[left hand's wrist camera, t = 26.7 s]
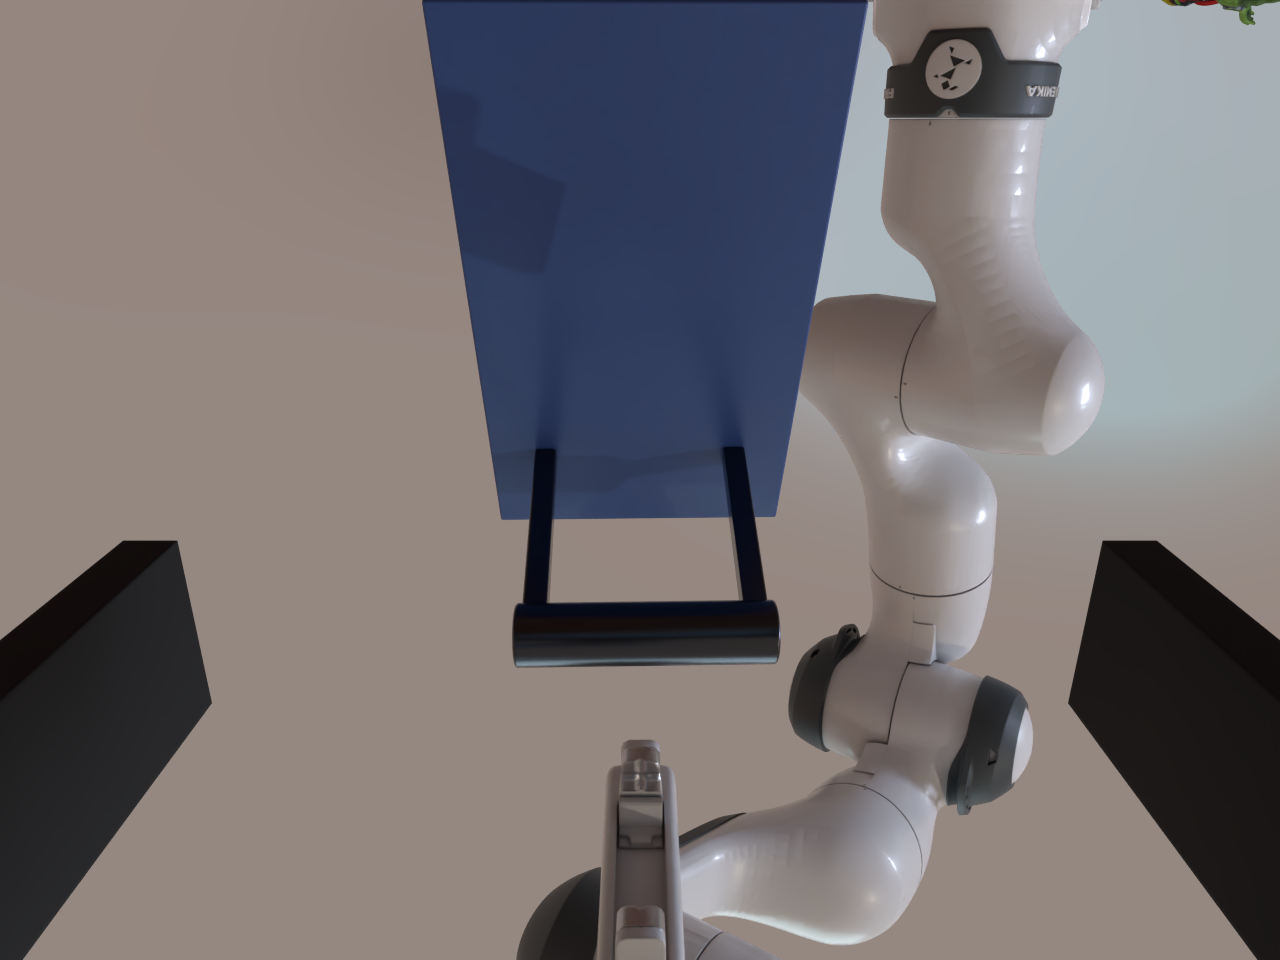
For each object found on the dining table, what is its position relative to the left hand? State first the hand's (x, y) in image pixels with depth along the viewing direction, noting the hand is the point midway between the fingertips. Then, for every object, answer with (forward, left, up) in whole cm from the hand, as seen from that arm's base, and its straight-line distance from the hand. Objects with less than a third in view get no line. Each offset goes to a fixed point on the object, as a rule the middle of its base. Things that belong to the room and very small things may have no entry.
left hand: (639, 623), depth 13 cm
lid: (+14, -6, -2) cm, 16 cm away
